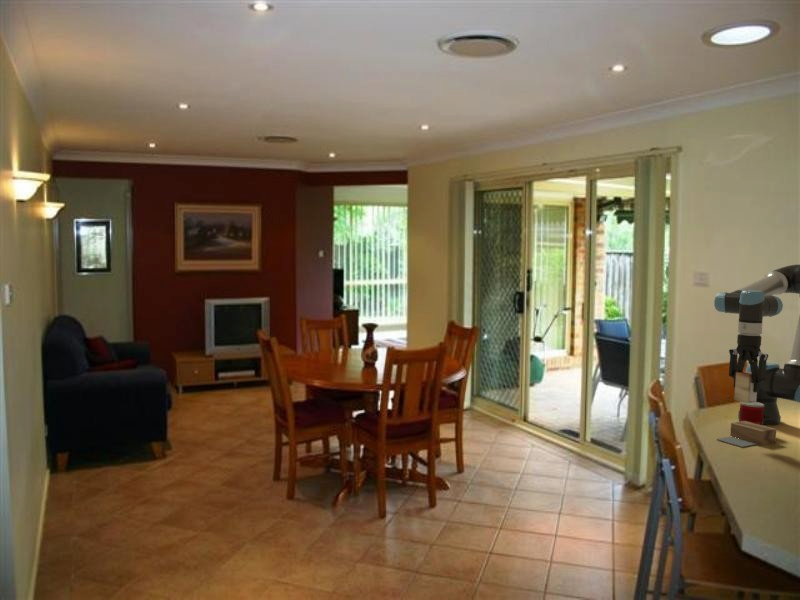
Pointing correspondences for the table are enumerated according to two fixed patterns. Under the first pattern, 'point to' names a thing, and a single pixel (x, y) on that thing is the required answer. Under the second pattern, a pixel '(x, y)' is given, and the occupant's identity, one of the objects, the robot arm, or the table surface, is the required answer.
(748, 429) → the step
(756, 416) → the canned food
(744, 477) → the table surface
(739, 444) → the mat
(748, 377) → the block
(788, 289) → the robot arm
